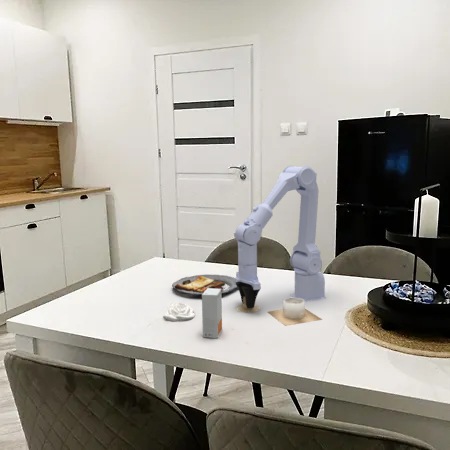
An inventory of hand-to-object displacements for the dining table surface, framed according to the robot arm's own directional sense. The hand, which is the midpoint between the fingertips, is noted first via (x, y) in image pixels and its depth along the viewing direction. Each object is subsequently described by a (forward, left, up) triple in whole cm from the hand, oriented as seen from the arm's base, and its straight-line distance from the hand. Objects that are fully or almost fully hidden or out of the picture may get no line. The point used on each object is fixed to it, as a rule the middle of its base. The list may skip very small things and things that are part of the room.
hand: (248, 305), depth 141 cm
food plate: (+5, -27, -2) cm, 28 cm away
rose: (+21, -4, -2) cm, 21 cm away
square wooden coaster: (-10, +11, -1) cm, 15 cm away
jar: (-10, +11, -1) cm, 15 cm away
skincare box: (+16, +13, -2) cm, 21 cm away
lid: (0, 0, -1) cm, 1 cm away
